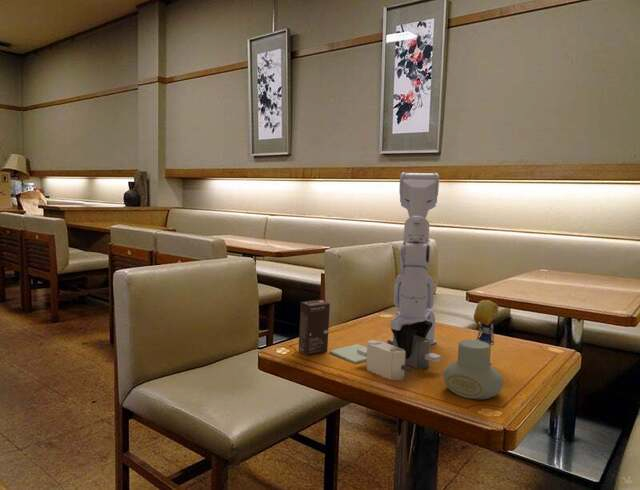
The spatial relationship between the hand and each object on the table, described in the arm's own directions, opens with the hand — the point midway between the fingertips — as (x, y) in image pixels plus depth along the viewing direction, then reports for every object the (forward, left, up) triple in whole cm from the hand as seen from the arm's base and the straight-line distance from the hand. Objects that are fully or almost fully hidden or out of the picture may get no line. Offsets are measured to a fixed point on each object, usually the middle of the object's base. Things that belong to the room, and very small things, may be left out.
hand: (410, 354), depth 109 cm
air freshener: (+4, +18, -2) cm, 19 cm away
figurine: (-12, +10, -2) cm, 16 cm away
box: (+14, -18, -2) cm, 23 cm away
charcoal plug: (0, 0, -2) cm, 2 cm away
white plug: (+10, +2, -2) cm, 10 cm away
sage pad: (+6, -11, -2) cm, 13 cm away
